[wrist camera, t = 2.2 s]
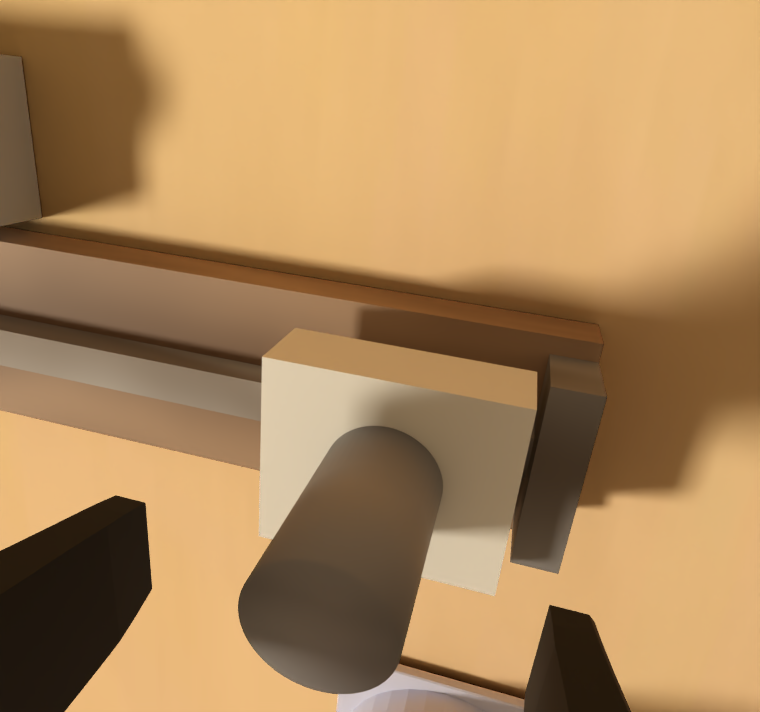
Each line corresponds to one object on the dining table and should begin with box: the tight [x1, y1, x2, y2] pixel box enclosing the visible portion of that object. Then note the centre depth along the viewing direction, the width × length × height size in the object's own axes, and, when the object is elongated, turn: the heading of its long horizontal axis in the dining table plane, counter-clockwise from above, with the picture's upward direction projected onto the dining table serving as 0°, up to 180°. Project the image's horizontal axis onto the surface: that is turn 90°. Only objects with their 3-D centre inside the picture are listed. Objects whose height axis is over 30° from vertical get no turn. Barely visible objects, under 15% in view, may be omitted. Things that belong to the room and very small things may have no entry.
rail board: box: [0, 226, 607, 574], centre depth 18 cm, size 6×22×4 cm, turn 84°
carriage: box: [238, 328, 537, 694], centre depth 13 cm, size 5×6×6 cm
